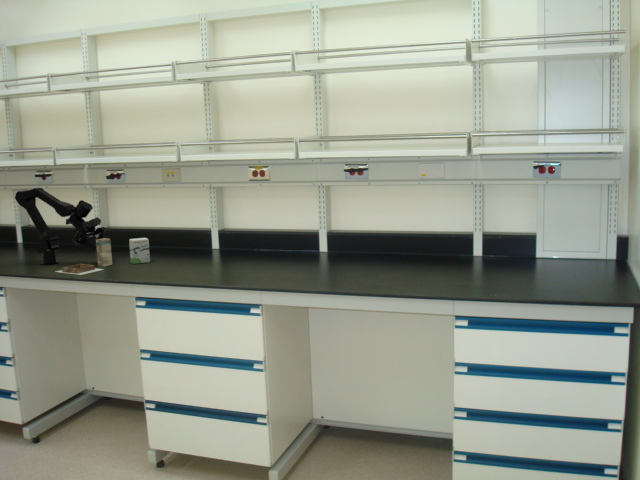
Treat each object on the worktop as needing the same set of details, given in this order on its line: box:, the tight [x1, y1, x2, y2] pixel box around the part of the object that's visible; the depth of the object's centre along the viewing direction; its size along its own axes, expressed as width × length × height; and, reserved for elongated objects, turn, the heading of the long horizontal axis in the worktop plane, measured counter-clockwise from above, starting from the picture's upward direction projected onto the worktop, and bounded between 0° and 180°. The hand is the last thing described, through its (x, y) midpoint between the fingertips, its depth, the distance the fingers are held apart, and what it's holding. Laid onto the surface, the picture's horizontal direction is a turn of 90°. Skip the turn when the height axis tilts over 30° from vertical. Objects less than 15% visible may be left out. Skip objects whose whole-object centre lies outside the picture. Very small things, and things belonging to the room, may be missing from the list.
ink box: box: [128, 237, 151, 265], centre depth 288 cm, size 9×5×12 cm, turn 123°
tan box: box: [95, 237, 113, 267], centre depth 281 cm, size 4×5×13 cm
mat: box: [54, 267, 105, 276], centre depth 271 cm, size 18×13×1 cm
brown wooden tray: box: [61, 263, 96, 275], centre depth 270 cm, size 10×10×2 cm
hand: (101, 247), depth 281 cm, fingers open, 9 cm apart
